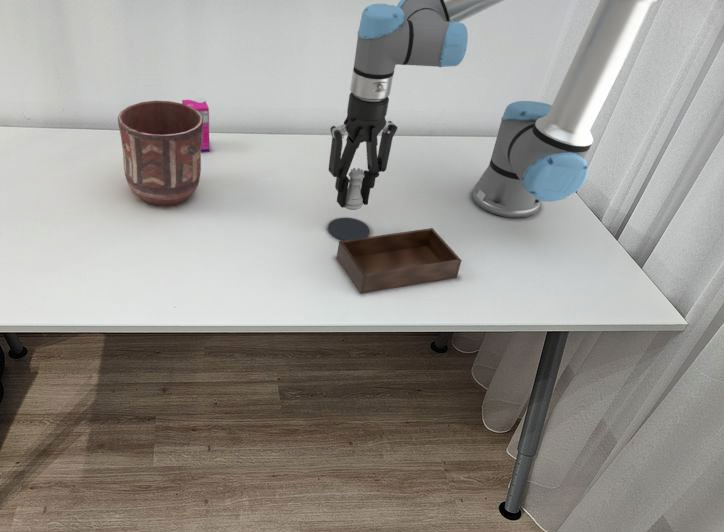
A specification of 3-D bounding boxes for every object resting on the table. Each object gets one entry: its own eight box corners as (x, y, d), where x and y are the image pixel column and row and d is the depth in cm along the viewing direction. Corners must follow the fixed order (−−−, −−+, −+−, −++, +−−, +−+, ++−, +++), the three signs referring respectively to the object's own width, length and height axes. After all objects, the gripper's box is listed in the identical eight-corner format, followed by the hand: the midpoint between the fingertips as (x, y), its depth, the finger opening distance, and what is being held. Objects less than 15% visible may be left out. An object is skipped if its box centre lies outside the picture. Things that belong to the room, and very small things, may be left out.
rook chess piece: (356, 213, 151) (362, 178, 146) (337, 206, 153) (342, 171, 147) (365, 204, 154) (371, 169, 149) (347, 197, 155) (352, 163, 150)
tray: (428, 244, 155) (432, 227, 152) (456, 278, 146) (461, 260, 143) (336, 258, 149) (338, 241, 146) (360, 293, 141) (363, 275, 138)
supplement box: (182, 142, 184) (181, 98, 176) (205, 141, 185) (205, 97, 178) (186, 153, 180) (185, 108, 172) (210, 151, 181) (210, 107, 174)
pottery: (186, 168, 174) (184, 95, 162) (214, 204, 163) (215, 128, 151) (114, 181, 168) (107, 106, 156) (138, 219, 156) (133, 141, 144)
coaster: (363, 218, 161) (363, 216, 161) (373, 241, 155) (374, 239, 154) (324, 219, 160) (324, 218, 160) (332, 242, 153) (332, 240, 153)
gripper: (334, 106, 132) (319, 217, 148) (420, 99, 137) (397, 207, 153) (319, 89, 138) (306, 198, 153) (402, 83, 142) (382, 189, 158)
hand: (352, 202), depth 153 cm, fingers closed on rook chess piece, 4 cm apart
